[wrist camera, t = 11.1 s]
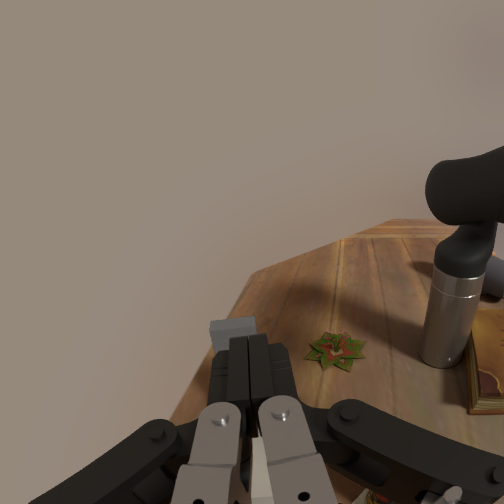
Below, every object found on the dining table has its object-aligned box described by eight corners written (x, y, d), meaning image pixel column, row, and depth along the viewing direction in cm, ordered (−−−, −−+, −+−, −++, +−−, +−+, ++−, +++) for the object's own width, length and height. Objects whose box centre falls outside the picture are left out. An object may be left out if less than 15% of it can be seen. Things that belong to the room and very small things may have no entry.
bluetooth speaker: (432, 277, 67) (436, 243, 64) (449, 268, 70) (452, 236, 66) (498, 309, 47) (507, 270, 43) (510, 296, 49) (518, 259, 46)
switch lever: (273, 419, 34) (260, 330, 29) (229, 423, 35) (203, 336, 29) (270, 398, 38) (258, 310, 33) (230, 402, 38) (207, 316, 33)
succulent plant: (354, 383, 41) (356, 363, 40) (292, 363, 49) (290, 344, 47) (376, 341, 50) (378, 322, 48) (321, 328, 57) (321, 310, 56)
